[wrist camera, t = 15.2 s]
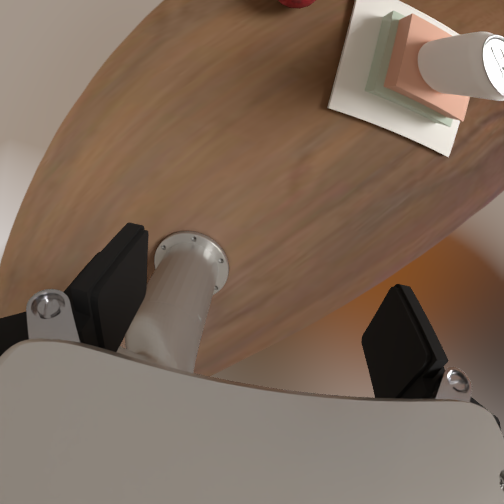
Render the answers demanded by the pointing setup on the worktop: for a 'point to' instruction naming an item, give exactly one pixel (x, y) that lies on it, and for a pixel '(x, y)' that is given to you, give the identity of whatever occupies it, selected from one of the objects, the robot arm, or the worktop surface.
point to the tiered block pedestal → (395, 75)
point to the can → (465, 65)
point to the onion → (296, 3)
